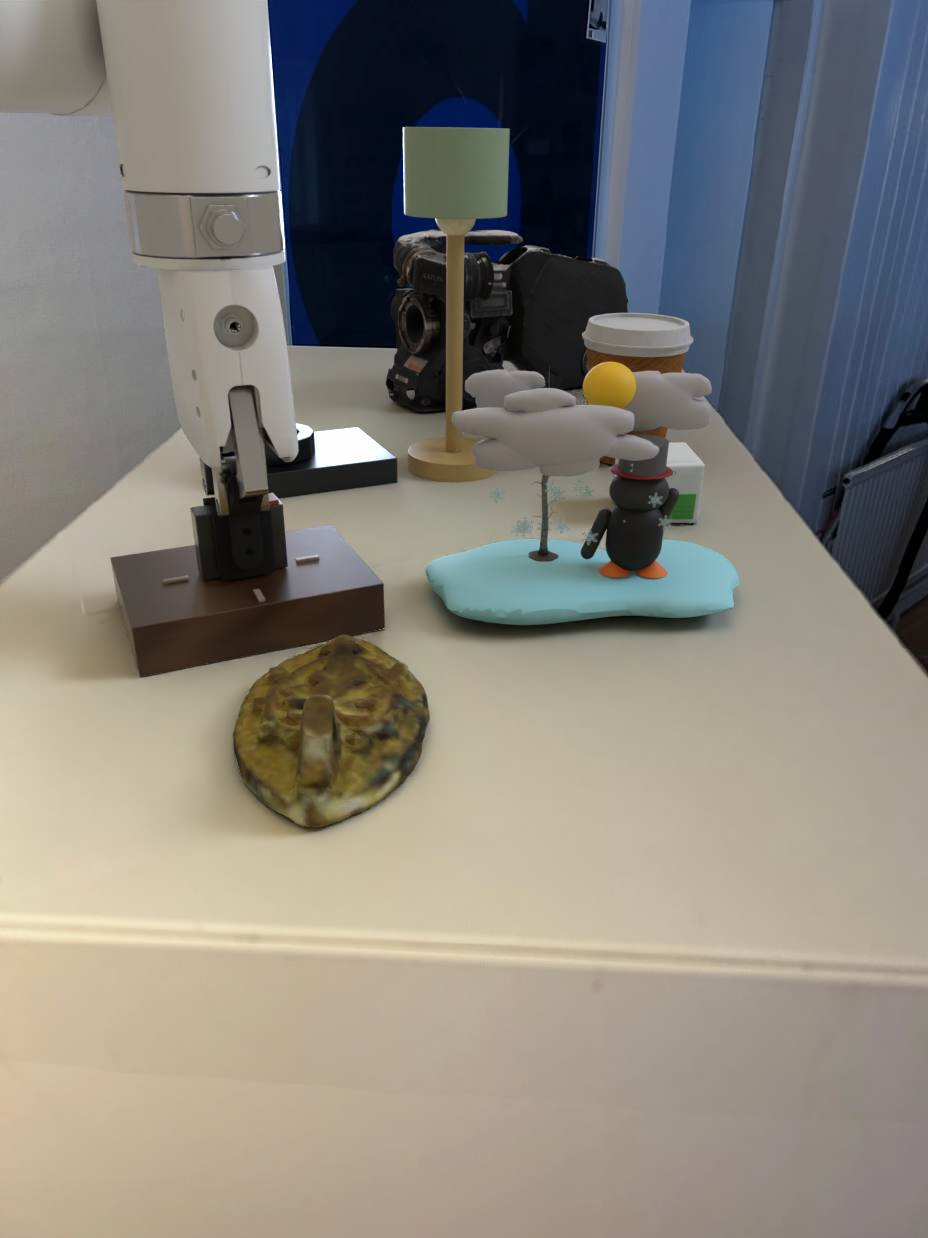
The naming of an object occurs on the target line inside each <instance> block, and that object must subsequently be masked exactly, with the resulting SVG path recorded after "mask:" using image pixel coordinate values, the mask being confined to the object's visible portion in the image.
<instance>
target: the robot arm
mask: <svg viewBox="0 0 928 1238" xmlns="http://www.w3.org/2000/svg"><path fill="white" fill-rule="evenodd" d="M268 5H269V4H268V0H0V113H2V114H3V113H4V114H7V113H8V114H46V115H47V114H49V115H52V116H59V117H61V116H62V117H64V116H65V117H112V121H113V129H114V130H113V131H114V136H115V144H116V150H117V151H116V152H117V157H118V164H119V171H120V178H121V187H122V190H123V192H122V194H123V201H124V208H125V215H126V216H125V217H126V222H127V229H128V236H129V237H128V238H129V243H130V250H131V256H132V257H131V258H132V264H133V265H134V266H137V267H141V268H142V267H144V268H146V269H151V270H152V269H153V270H157V278H158V287H159V298H160V303H161V304H160V305H161V311H162V321H163V329H164V337H165V338H164V339H165V345H166V352H167V359H168V366H169V373H170V374H169V375H170V380H171V385H172V391H173V397H174V402H175V409H176V412H177V417H178V420H179V425H180V427H181V430H182V432H183V434H184V435H185V437H186V439H187V440H188V442H189V443H190V445H191V446H192V448H193V450H194V451H195V453H196V454H197V455H198V457H199V466H200V472H201V474H200V475H201V481H202V489H203V492H204V495H205V497H204V498H202V503H203V505H202V506H204V505H212V504H216V508H217V512H214V513H211V514H212V523H213V531H214V539H215V548H216V556H217V565H218V572H219V575H220V577H221V578H222V579H223V580H233V579H239V578H245V577H251V576H257V575H263V574H269V573H272V572H273V571H274V570H275V556H274V545H273V533H272V522H271V510H270V506H269V493H268V481H267V469H266V457H265V445H264V441H265V442H266V443H267V444H268V446H269V447H270V448H271V449H272V450H273V451H274V452H275V453H276V454H277V456H278V457H279V458H281V459H282V460H284V461H285V462H292V461H293V460H294V459H295V458H296V456H297V454H298V451H299V449H298V438H297V428H296V423H297V420H296V411H295V404H294V402H295V401H294V396H293V395H294V394H293V393H294V392H293V386H292V378H291V377H292V375H291V367H290V360H289V353H288V351H289V350H288V344H287V335H286V330H285V329H286V328H285V323H284V316H283V309H282V303H281V297H280V293H279V289H278V288H279V287H278V283H277V279H276V273H275V269H274V267H273V266H279V265H281V264H284V263H285V262H286V260H287V259H286V249H285V248H286V246H285V235H284V234H285V232H284V218H283V217H284V216H283V203H282V191H280V190H281V180H280V166H279V151H278V136H277V135H278V134H277V120H276V106H275V103H276V102H275V90H274V79H273V78H274V77H273V63H272V47H271V36H270V35H271V34H270V33H271V32H270V20H269V19H270V18H269V6H268Z"/></svg>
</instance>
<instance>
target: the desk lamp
mask: <svg viewBox="0 0 928 1238" xmlns="http://www.w3.org/2000/svg"><path fill="white" fill-rule="evenodd" d="M510 130H511V129H510V128H507V127H506V128H504V127H503V128H502V127H501V128H500V127H499V128H498V127H454V126H453V127H446V126H445V127H443V126H442V127H441V126H439V127H438V126H403V127H402V155H403V156H402V157H403V158H402V160H403V164H402V165H403V214H404V215H405V216H408V217H413V218H422V219H423V218H426V219H434V220H435V223H436V225H437V227H438V229H440V230H441V231H442V232H443V233H445V234H446V235H447V251H446V410H445V436H444V437H433V438H428V439H423V440H420V441H416V442H415V443H413V444H411V445H410V446H409V447H408V449H407V470H408V471H409V472H410V473H411V474H412V475H414V476H416V477H419V478H421V479H425V480H429V481H435V482H442V483H467V482H468V483H469V482H475V481H481V480H485V479H488V478H491V477H493V476H495V475H496V474H497V473H498V472H499V471H493V470H487V469H483V468H480V467H478V466H476V464H475V456H474V455H473V454H472V447H473V445H474V444H476V443H477V442H479V441H481V440H482V439H477V438H470V437H463V432H462V431H459V430H457V429H456V428H455V427H454V426H453V423H452V414H453V413H454V412H457V411H463V408H462V383H463V304H464V252H465V245H464V235H465V234H467V233H468V232H469V231H470V230H473V227H474V226H475V224H476V220H482V219H483V220H484V219H499V218H504V217H505V218H506V217H507V216H508V195H509V193H508V192H509V167H510V166H509V165H510V163H509V161H510V136H511V135H510V132H511V131H510Z"/></svg>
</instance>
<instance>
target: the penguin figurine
mask: <svg viewBox="0 0 928 1238" xmlns="http://www.w3.org/2000/svg"><path fill="white" fill-rule="evenodd" d="M544 371H545V370H544ZM549 371H550V368H549ZM545 374H546V372H545ZM660 374H661V373H660V372H659V371H642V372H631V371H630V369H629V368H627V367H626V366H625V365H623V364H620V363H617V362H604V363H600V364H598V365H596V366H595V367H593V368H592V369H591V370H590V371H589V372H588V373H587V375H586V377H585V379H584V382H583V386H582V393H583V396H584V398H585V400H586V402H587V403H588V404H577V397H576V396H575V395H574V394H571V393H570V392H567V391H565V390H564V389H557V388H550V385H549V380H548V381H547V380H544V377H543V376H542V375H541V374H539V373H537V372H534V371H518V370H511V371H509V370H508V369H504V370H500V369H498V370H490V371H483V372H480V373H475V374H473V375H471V376H470V377H469V378H468V379H467V380H465V391H466V392H468V393H470V394H471V396H472V397H473V398H474V397H476V404H477V406H476V408H470V409H464V410H462V411H457V412H454V413H453V414H452V423H453V426H454V427H455V428H456V429H457V430H459V431H462V433H464V434H469V435H473V436H479V437H483V438H484V439H480V440H481V441H479V442H477V443H476V444H474V445H473V447H472V454H473V455H474V456H475V464H476V466H478V467H480V468H483V469H487V470H493V471H498V472H520V471H527V470H533V469H535V468H537V467H539V473H540V474H541V481H540V482H539V481H538V480H537V481H536V482H533V484H540V485H541V516H540V515H538V516H537V515H532V514H531V516H532V517H531V519H533V518H538V517H539V518H541V522H540V521H539V522H538V525H539V527H537V529H536V531H540V537H539V538H524V537H525V536H526V534H527V533H528V534H529V535H530V534H533V533H532V531H533V530H534V529H533V526H532V524H533V523H534V520H529V521H528V517H527V516H524V517H523V520H521V519H519V520H518V519H517V520H516V524H515V525H514V524H510V527H511V528H512V530H510V534H512V533H514V535H515V537H518V536H519V534H520V533H521V536H522V537H523V538H517V539H515V538H514V539H508V540H507V539H506V540H502V541H501V540H500V541H496V542H492V543H487V544H484V545H481V546H477V547H474V548H471V549H469V550H465V551H461V552H457V553H456V552H455V553H452V554H447V555H444V556H440V557H437V558H436V559H434V560H431V562H430V563H429V564H428V565H427V566H426V567H425V570H424V572H425V576H426V578H427V581H428V584H429V586H430V588H431V589H432V590H433V591H434V592H435V593H436V595H438V596H439V598H440V599H441V600H443V603H444V605H445V607H446V609H447V610H448V611H449V612H450V613H452V614H454V615H456V616H458V617H461V618H464V619H469V620H473V621H479V622H483V623H492V624H501V625H510V626H511V625H512V626H535V625H537V626H538V625H551V624H560V623H570V622H577V621H584V620H585V621H586V620H593V619H594V620H595V619H600V618H610V617H625V616H626V617H628V616H631V617H633V616H635V617H636V616H638V617H652V618H664V619H665V618H668V619H681V618H682V619H684V618H693V617H694V618H695V617H702V616H708V615H712V614H717V613H721V612H726V611H728V610H730V609H732V608H734V607H735V601H734V592H735V590H737V588H738V587H739V585H740V584H741V583H740V576H739V574H738V571H737V570H736V568H735V566H734V565H733V563H732V562H731V561H730V560H729V559H728V558H727V557H725V556H723V555H722V554H721V553H720V552H717V551H715V550H713V549H711V548H709V547H706V546H704V545H700V544H697V543H693V542H690V541H684V540H678V539H667V538H664V530H666V527H667V526H668V527H672V524H671V523H669V522H670V520H669V522H668V521H667V520H668V518H669V516H670V514H671V512H672V510H673V508H674V506H675V504H676V503H677V501H678V499H679V492H678V490H677V489H675V488H670V489H669V485H668V483H667V481H666V479H665V478H666V477H669V476H671V475H672V474H673V470H672V469H670V468H669V467H667V466H666V464H667V455H668V447H669V443H670V441H669V440H668V439H667V438H666V437H665V438H663V437H660V436H655V435H649V434H632V435H626V434H625V433H628V432H630V431H642V430H651V429H655V428H658V427H660V426H662V427H666V428H668V429H669V430H677V431H679V430H680V431H689V430H690V431H691V430H701V429H703V428H706V426H708V425H709V424H710V422H711V420H712V419H711V418H712V408H711V406H710V404H709V403H707V402H706V401H705V400H702V399H697V398H702V397H704V396H709V395H711V394H712V390H713V388H712V385H711V381H710V380H709V379H708V377H706V376H704V375H702V374H701V373H689V372H681V373H664V374H661V375H660ZM549 377H550V376H549ZM561 379H562V378H561ZM545 381H547V382H548V385H549V388H547V387H546V384H545ZM560 381H561V380H560ZM559 383H560V382H559ZM558 385H559V384H558ZM558 385H557V386H558ZM544 386H545V387H546V388H545V387H544ZM589 404H590V405H589ZM603 456H607V457H611V458H617V459H619V462H618V464H615V465H611V466H610V467H609V471H610V473H611V474H613V475H614V474H615V475H616V476H615V477H614V476H613V479H611V482H610V484H609V486H608V487H609V488H608V494H609V498H610V500H611V501H612V503H613V504H614V505H615V507H614V508H613V509H612V510H610V509H609V508H608V507H607V508H605V507H604V508H601V509H600V510H599V512H598V513H597V515H596V517H595V519H594V521H593V523H592V526H591V528H589V530H588V532H587V533H585V532H582V536H584V537H583V538H582V539H581V542H576V541H571V540H565V539H557V538H556V539H555V538H548V537H549V536H548V534H549V532H550V531H552V529H551V527H550V526H552V524H553V522H549V519H550V518H551V516H552V515H553V514H554V513H555V514H557V511H556V512H555V511H554V509H553V508H552V507H553V506H551V510H550V512H549V507H548V506H549V503H548V492H549V496H550V497H549V498H550V499H552V498H554V499H553V500H552V501H551V503H558V502H559V499H560V498H561V499H560V500H566V496H564V494H565V493H566V491H567V490H565V489H563V491H561V484H562V483H557V484H555V480H554V479H552V480H551V482H550V483H548V481H549V478H550V477H567V478H568V477H578V476H582V475H585V474H588V473H590V472H593V471H595V470H596V469H598V468H599V467H600V462H601V461H600V458H601V457H603ZM570 484H571V487H573V489H572V490H570V493H572V494H574V493H575V494H576V497H577V498H579V497H582V498H583V497H584V498H585V499H584V500H585V501H587V500H588V498H589V497H591V498H594V494H593V493H594V492H595V489H590V486H589V485H588V484H587V483H585V485H583V484H582V480H581V479H579V480H578V481H577V484H575V483H570ZM529 485H530V486H531V484H529ZM489 491H490V493H491V496H490V497H489V499H490V500H492V499H493V500H494V502H495V504H498V502H499V500H500V499H501V500H502V501H504V499H505V497H504V496H503V495H504V494H505V492H506V491H504V490H502V491H500V488H499V487H498V486H497V487H496V488H495V492H494V491H492V490H489ZM581 493H582V494H581ZM579 494H580V495H579ZM537 496H538V497H540V495H539V494H537ZM554 501H555V502H554ZM551 512H552V513H551ZM671 521H672V520H671ZM667 522H668V523H667ZM555 525H556V526H557V527H556V528H555V529H554V530H555V531H560V532H559V533H560V534H561V535H562V534H564V531H565V530H566V531H567V532H568V531H570V529H569V528H568V526H569V525H571V522H565V519H561V522H559V521H557V522H556V521H555ZM531 530H532V531H531ZM604 535H605V549H601V548H599V546H600V544H601V542H602V540H603V538H604ZM582 542H583V543H582Z"/></svg>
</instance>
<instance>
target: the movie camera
mask: <svg viewBox="0 0 928 1238" xmlns="http://www.w3.org/2000/svg"><path fill="white" fill-rule="evenodd" d="M523 242H524V239H523V237H522V236H520V235H519V234H518V233H516V232H513V231H509V230H501V229H471V230H470V231H469V232H468V233H467V234H465V235H464V246H465V245H467V246H487V247H488V246H489V247H491V246H495V247H496V246H509V245H518V244H522V243H523ZM446 251H447V235H446V234H445V233H443V232H442V231H441V230H440V228H437V229H429V230H423V231H418V232H414V233H410V234H409V233H408V234H404V235H402V236H400V237H399V238H398V239H397V240H396V241H395V245H394V248H393V252H392V253H393V254H392V255H393V257H392V262H393V263H392V264H393V267H394V268H395V269H396V271H397V273H398V275H399V278H398V279H397V280H396V283H397V285H398V287H400V288H397V289H395V296H394V297H393V298H392V300H391V303H390V310H389V311H390V312H389V314H390V317H391V318H392V320H393V322H394V325H395V330H396V331H395V332H396V333H395V334H396V346H395V347H396V352H395V354H394V356H393V365H392V367H391V368H388V371H387V374H386V377H385V385H386V389H387V390H388V398H389V399H391V401H392V402H393V403H398V405H401V406H406V407H408V408H410V409H412V410H413V411H418V412H425V413H426V412H439V411H446ZM404 286H408V288H402V287H404ZM626 287H627V285H626V282H625V279H624V276H623V274H622V273H621V271H620V270H619V269H618V268H617V267H616V266H612V265H611V264H610V263H608V262H607V261H606V260H604V259H602V258H597V257H593V256H592V257H591V258H589V257H583V256H580V255H576V256H575V257H570V256H566V255H563V254H560V253H552V252H551V250H550V249H549V248H546V247H542V246H541V247H540V246H537V245H531V244H527V245H524V246H516V247H513V248H512V249H510V250H507V252H505V253H504V254H503V255H502V256H500V258H499V259H497V260H491V258H490V256H489V254H488V253H487V252H486V251H480V252H465V251H464V304H463V383H462V409H463V408H471V407H473V406H475V407H477V404H476V397H474V398H473V397H472V396H471V394H470V393H468V392H466V391H465V380H467V379H468V378H469V377H470V376H471V375H473V374H475V373H480V372H483V371H490V370H498V369H500V370H505V367H504V362H508V363H510V364H511V365H513V367H514V368H515V369H516V371H534V372H537V373H539V374H541V375H542V376H543V377H544V380H547V381H548V380H549V385H550V388H557V389H560V390H566V389H571V388H578V387H582V388H583V382H584V379H585V377H586V375H587V373H588V366H587V347H586V346H585V344H584V339H583V337H582V333H583V332H585V331H586V327H587V324H588V320H589V318H591V317H593V316H596V315H602V314H611V313H629V310H628V303H629V299H628V295H627V288H626ZM549 368H550V371H549ZM544 370H545V371H544ZM545 372H546V374H545ZM549 376H550V377H549ZM561 378H562V379H561ZM560 380H561V381H560ZM547 381H545V384H546V387H547V388H549V385H548V382H547ZM559 382H560V383H559ZM558 384H559V385H558ZM557 385H558V386H557ZM546 387H545V386H544V387H543V388H546ZM410 391H414V398H413V399H412V400H411V399H410V397H409V396H408V392H410Z"/></svg>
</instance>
